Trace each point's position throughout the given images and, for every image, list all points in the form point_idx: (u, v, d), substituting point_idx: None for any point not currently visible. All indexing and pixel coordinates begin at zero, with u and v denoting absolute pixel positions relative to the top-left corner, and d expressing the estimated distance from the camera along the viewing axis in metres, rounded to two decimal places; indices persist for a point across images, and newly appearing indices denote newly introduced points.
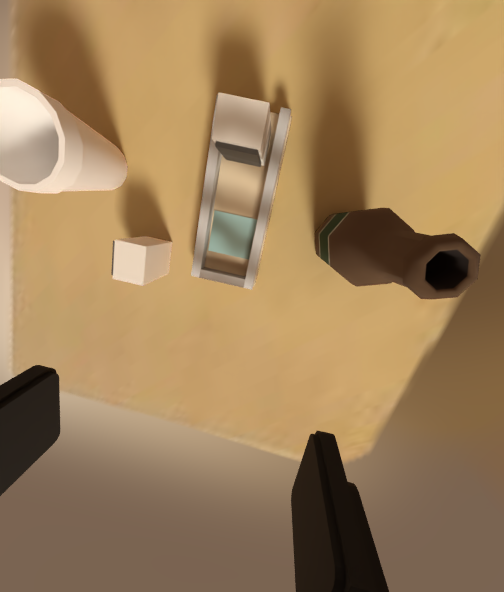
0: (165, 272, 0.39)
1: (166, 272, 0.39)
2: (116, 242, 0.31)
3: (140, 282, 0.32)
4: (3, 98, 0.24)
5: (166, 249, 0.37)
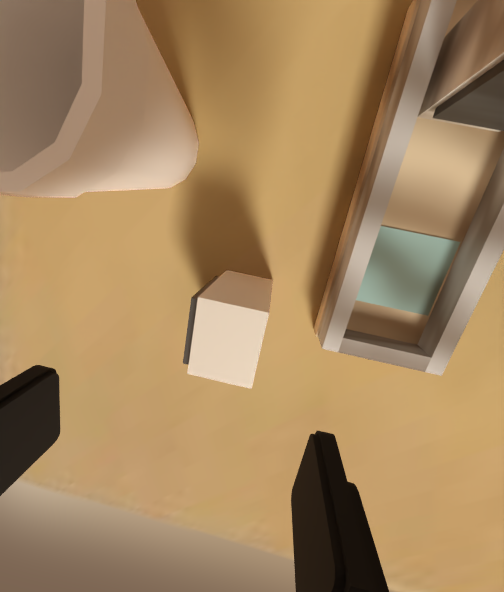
0: None
1: None
2: (201, 303, 0.14)
3: (246, 382, 0.15)
4: None
5: None
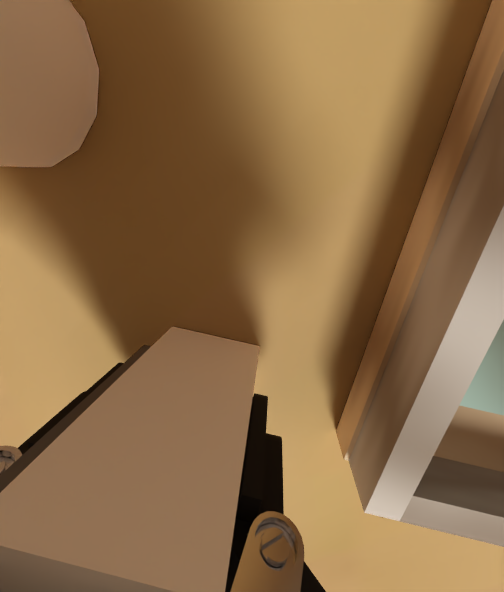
0: None
1: None
2: None
3: None
4: None
5: None
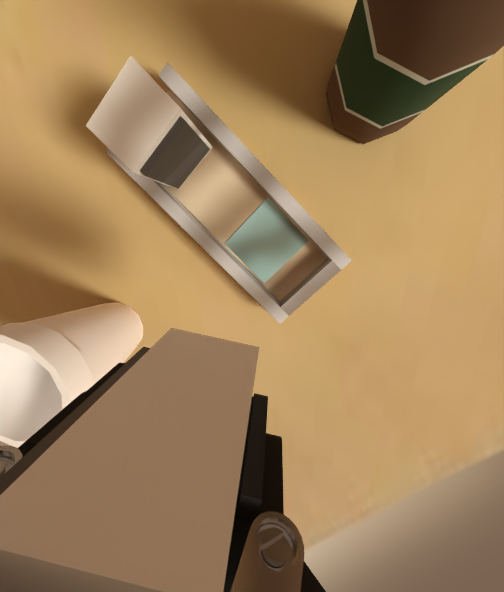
0: None
1: None
2: None
3: None
4: None
5: None
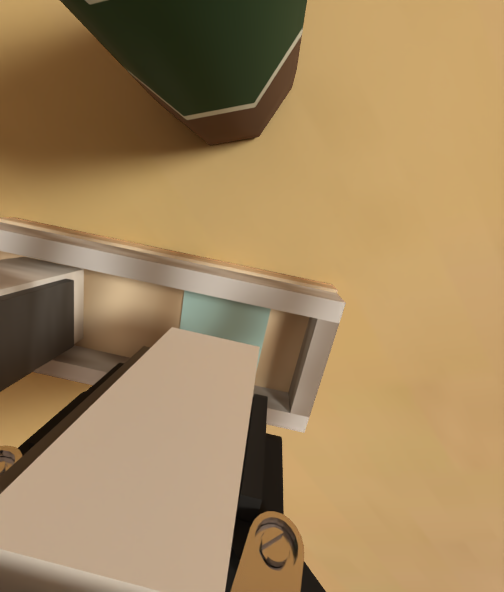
0: None
1: None
2: None
3: None
4: None
5: None
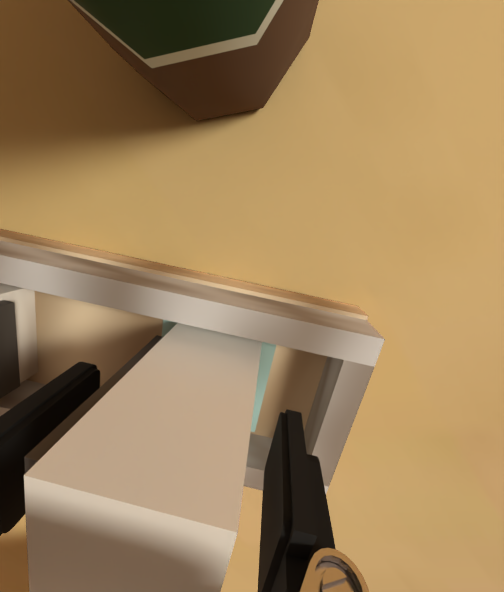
0: None
1: None
2: (36, 490, 0.05)
3: None
4: None
5: None
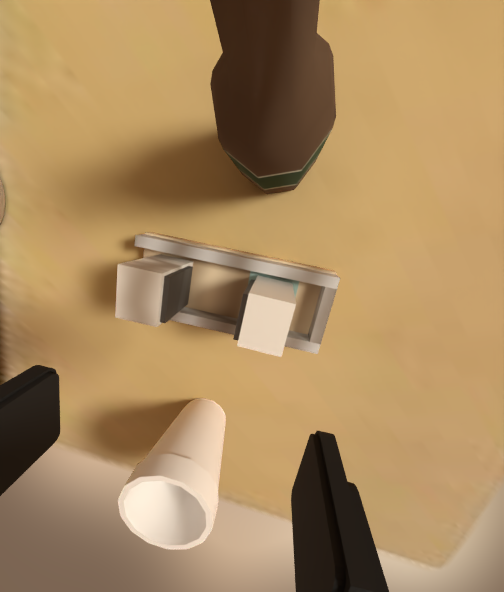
0: None
1: None
2: (250, 297, 0.21)
3: (278, 352, 0.22)
4: (136, 511, 0.26)
5: None
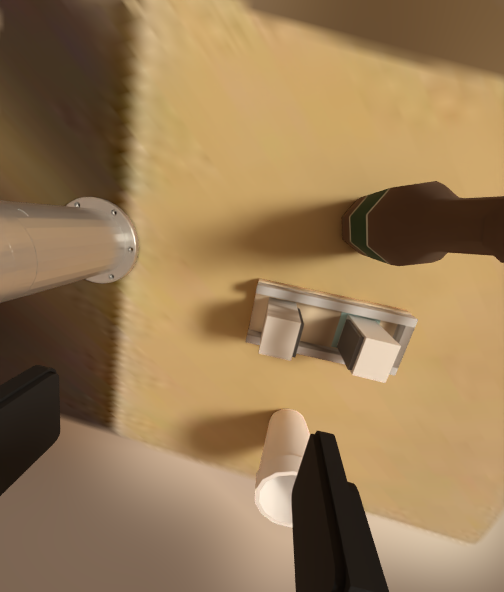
0: None
1: None
2: (367, 340, 0.29)
3: (383, 379, 0.30)
4: (263, 499, 0.34)
5: None
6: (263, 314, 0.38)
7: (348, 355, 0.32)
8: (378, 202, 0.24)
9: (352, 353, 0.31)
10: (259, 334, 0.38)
